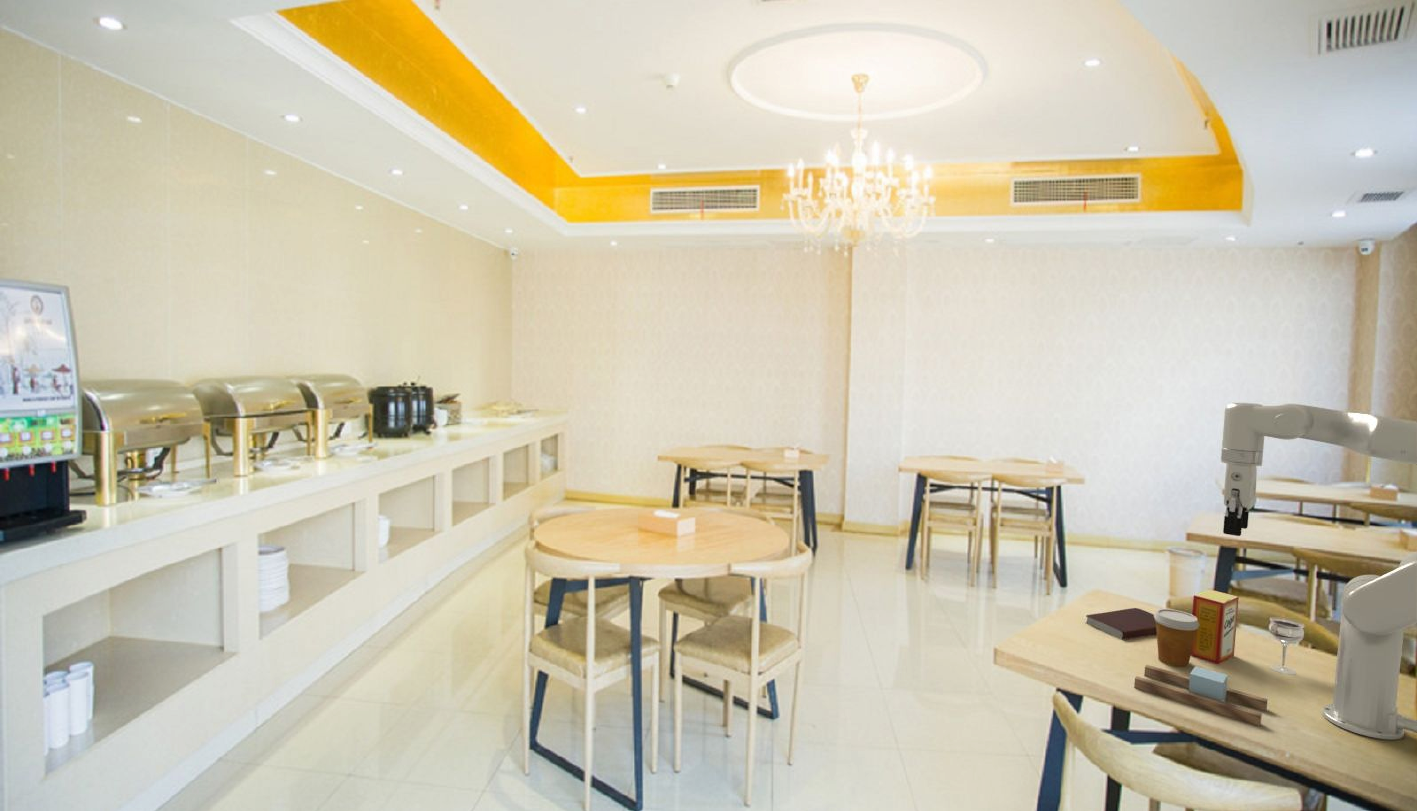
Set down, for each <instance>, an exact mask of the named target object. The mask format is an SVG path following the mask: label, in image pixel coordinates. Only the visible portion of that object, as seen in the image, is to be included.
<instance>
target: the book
mask: <svg viewBox="0 0 1417 811" xmlns="http://www.w3.org/2000/svg"><path fill="white" fill-rule="evenodd" d="M1154 615H1155V614H1153V613H1152V612H1149V611H1146V610H1143V609H1141V608H1137V607H1131V608H1126V609H1119V610H1113V611H1108V612H1107V611H1106V612H1099V613H1092V614H1087V615H1085V617H1086V622H1085V624H1086V623H1087V625H1089V626H1092V627H1093V628H1096V629H1098V628H1099V629H1098V630H1100V631H1103V632H1105V633H1107V634H1109V635H1111V636H1114V635H1115V636H1114V637H1116V638H1118V639H1120V640H1122V641H1123V640H1130V639H1136V638H1143V637H1150V636H1157V631H1156V621H1155V618H1154ZM1149 635H1150V636H1149Z"/></svg>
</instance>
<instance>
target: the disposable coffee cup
mask: <svg viewBox="0 0 1417 811" xmlns="http://www.w3.org/2000/svg"><path fill="white" fill-rule="evenodd" d="M1154 618H1155V621H1156V631H1157V635H1156V641H1157V656H1158V660H1159V661H1160V662H1162V663H1163V664H1166V665H1168V666H1172V667H1177V668H1185V667H1188V666H1189V664H1190V660H1191V657H1192V656H1191V652H1192V648H1193V643H1194V639H1195V635H1196V631H1197V629H1198V627H1199V625H1200V624H1199V623H1198V620H1197V618H1196V617H1195V616H1193V615H1192V614H1191V613H1189V612H1185V611H1181V610H1177V609H1170V608H1160V609H1157V610H1156V612H1155V614H1154Z"/></svg>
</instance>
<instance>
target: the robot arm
mask: <svg viewBox="0 0 1417 811" xmlns="http://www.w3.org/2000/svg"><path fill="white" fill-rule="evenodd" d="M1224 409H1225V410H1224V417H1223V430H1222V440H1221V441H1222V444H1221V453H1220V454H1221V456H1220V462H1221V463H1224V464H1226V467H1225V478H1224V488H1223V490H1224V491H1223V505H1224V506H1225V507H1226V509H1225V515H1224V516H1223V529H1222V530H1223V531H1222V532H1223V534H1225V535H1230V536H1236V537H1241V536H1242V531H1243V530H1245V529H1248V528H1249V527H1248V525H1249V513H1250V512H1249V510H1250V509H1252V508H1253V507H1254V506H1255V505H1256V495H1257V494H1256V492H1257V475H1258V474H1257V472H1258V470H1257V469H1258V468H1257V467H1260V466H1263V460H1264V459H1263V457H1264V446H1265V445H1264V444H1265V437H1268V438H1273V439H1278V440H1285V441H1286V440H1288V441H1289V440H1295V439H1305V440H1310V441H1315V442H1319V443H1320V442H1321V443H1325V444H1331V445H1334V446H1338V447H1343V448H1344V449H1345V448H1346V449H1347V450H1351V451H1353V452H1354V453H1355V452H1356V453H1358V454H1360V455H1363V456H1364V455H1365V456H1368V457H1371V458H1376V459H1384V460H1388V461H1394V462H1400V463H1406V464H1412V465H1415V466H1416V465H1417V420H1416V421H1414V420H1410V419H1409V420H1408V419H1402V418H1396V417H1390V416H1383V415H1376V414H1369V413H1368V414H1367V413H1357V412H1351V411H1344V410H1337V409H1330V408H1325V407H1318V406H1312V405H1305V404H1299V403H1284V404H1281V405H1263V404H1259V403H1253V402H1252V403H1249V402H1231V403H1229V404H1227V405H1226V406H1225V408H1224ZM1242 529H1243V530H1242ZM1341 595H1342V596H1341V600H1340V608H1341V614H1340V615H1341V617H1340V624H1339V625H1340V627H1339V637H1338V638H1339V639H1338V646H1337V656H1336V666H1335V667H1336V668H1335V678H1334V685H1333V686H1334V688H1333V698H1332V704H1331V703H1330V704H1326V705H1324V706H1323V707H1322V712H1321V713H1322V716H1323V717H1324V718H1325V719H1326V720H1328V721H1329V722H1330V723H1332V724H1334V725H1336V726H1337V727H1339V728H1342V729H1344V730H1347V731H1349V732H1352V733H1355V734H1357V735H1358V734H1359V735H1361V736H1366V737H1369V738H1373V739H1379V740H1386V741H1387V740H1388V741H1389V740H1390V741H1391V740H1400V739H1402V738H1403V737H1404V736H1405V730H1407V731H1410V732H1412V733H1415V734H1417V719H1413V718H1410V717H1406V716H1402V714H1400V713H1398V711H1399V710H1398V707H1397V699H1398V689H1399V679H1400V669H1401V660H1402V653H1403V652H1402V651H1403V641H1404V633H1405V632H1404V630H1405V629H1407V628H1409V627H1411V626H1414V625H1416V624H1417V550H1416V551H1414V552H1411V553H1409V554H1408V555H1406V556H1404V557H1403V559H1402V560H1401V561H1400V563H1399V566H1398V567H1397V568H1395V569H1393V570H1392V571H1389V572H1387V573H1385V574H1383V575H1376V574H1362V575H1358V576H1355V577H1354V578H1352V579H1350V580H1349V581H1348V582H1347V584H1346V585H1345V586H1344V589H1343V592H1342V594H1341Z"/></svg>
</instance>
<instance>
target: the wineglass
mask: <svg viewBox="0 0 1417 811" xmlns="http://www.w3.org/2000/svg"><path fill="white" fill-rule="evenodd" d="M1269 621H1270V623H1269V625H1268V631H1269V634H1270V635H1271V637H1273V638H1274V639H1275V640H1276V641H1278V642H1279V643H1280V644H1281V645H1282V657H1281V658H1282V659H1281V665H1277V664H1276V665H1275V664H1272V665H1270V666H1269V668H1270V669H1271V670H1273V671H1275V672H1278V673H1280V674H1283V675H1284V674H1285V675H1296V674H1297V673H1296V671H1295V670H1294V669H1291V668H1289V667H1287V666H1285V663H1286V655H1287V654H1286V653H1287V650H1288V649H1287V648H1288V646H1289V645H1292V644H1293V645H1294V644H1297V643H1299V642H1301V641H1302V640H1303V639H1304V636H1305V632H1304V628H1305V624H1304V623H1302V622H1299V621H1297V620H1294V619H1290V618H1285V617H1279V616H1276V617H1270V618H1269Z"/></svg>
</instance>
